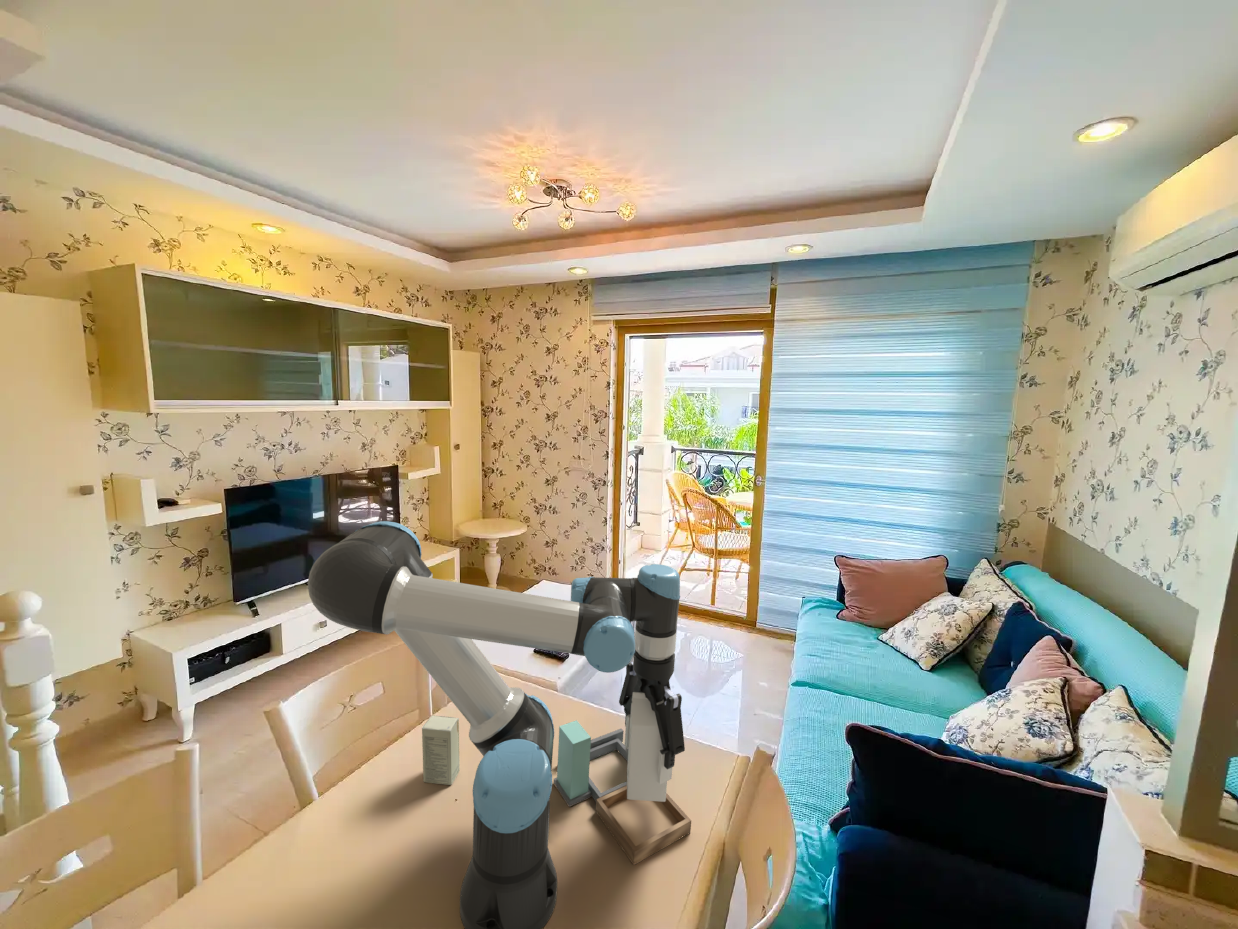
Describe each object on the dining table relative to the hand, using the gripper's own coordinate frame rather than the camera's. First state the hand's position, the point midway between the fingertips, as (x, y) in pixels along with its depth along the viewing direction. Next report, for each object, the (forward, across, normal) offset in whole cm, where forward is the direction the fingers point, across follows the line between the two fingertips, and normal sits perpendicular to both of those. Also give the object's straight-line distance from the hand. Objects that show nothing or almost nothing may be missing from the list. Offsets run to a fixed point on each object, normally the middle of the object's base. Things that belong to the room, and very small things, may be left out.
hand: (647, 762), depth 94 cm
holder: (+13, +14, -1) cm, 19 cm away
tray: (+13, 0, 0) cm, 13 cm away
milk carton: (+5, 0, 0) cm, 5 cm away
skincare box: (+13, +30, +30) cm, 44 cm away
